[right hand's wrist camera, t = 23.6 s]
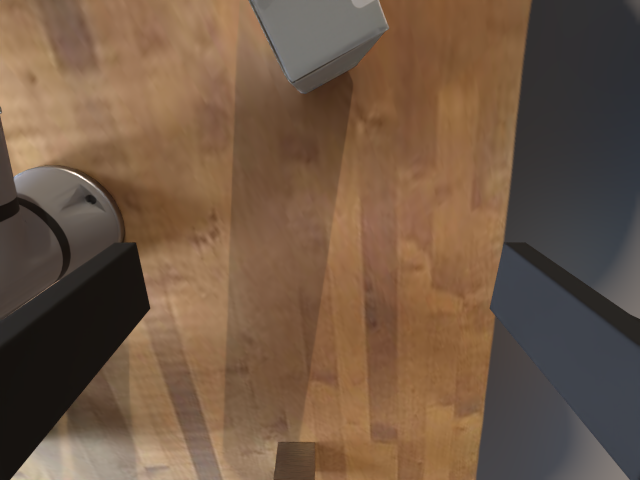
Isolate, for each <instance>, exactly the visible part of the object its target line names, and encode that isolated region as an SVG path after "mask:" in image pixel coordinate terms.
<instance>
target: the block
mask: <svg viewBox="0 0 640 480" xmlns="http://www.w3.org/2000/svg"><path fill="white" fill-rule="evenodd" d="M273 480H315V443H278V447H277V455H276V463H275V471H274V479H273Z"/></svg>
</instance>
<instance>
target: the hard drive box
mask: <svg viewBox="0 0 640 480" xmlns="http://www.w3.org/2000/svg"><path fill="white" fill-rule="evenodd" d="M249 2H250V4H251V7H252V9H253V11H254V13H255V15H256V17H257V19H258V21H259V23H260V25H261V27H262V30H263V32H264V34H265V36H266V38H267V40H268V42H269V44H270V46H271V48H272V50H273V52H274V54H275V56H276V58H277V60H278V62H279V64H280V66H281V68H282V70H283V72H284V74H285V76H286V78H287V79H288V81H289V82H290V83H291V84H292V85H293V86H294V87H295V88H296V89H297V90H298V91H299V92H300V93H304V94H306V93H308V92H310V91H312V90H314V89H316V88H318V87H319V86H321V85H323V84H325V83H327V82H328V81H330V80H332V79H334V78H336V77H337V76H339V75H341V74H343V73H345V72H346V71H348V70H350V69H352V68H353V67H355V66H356V65H357V64H358V63H359V61H360V60H361V59H362V58H363V57H364V56H365V55H366V53H367V52H368V51H369V50H370V49H371V48H372V47H373V45H374V44H375V43H376V42H377V41H378V39H379V38H380V37H381V36H382V34H383V33H384V32H385V31H386V30H388V29H389V26H388V24H387V21H386V19H385V16H384V13H383V11H382V8H381V5H380V2H379V0H249Z"/></svg>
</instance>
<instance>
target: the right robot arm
mask: <svg viewBox="0 0 640 480" xmlns="http://www.w3.org/2000/svg"><path fill="white" fill-rule="evenodd" d="M0 113H2V110H1V107H0ZM123 239H124V223H123V218H122V215H121V212H120V210H119V208H118V206H117V204H116V202H115V200H114V199H113V198H112V196H111V195H110V194H109V192H108V191H107V190H106V189H105V188H104V187H103V186H102V185H101V184H99V183H98V182H97V181H96V180H94V179H93V178H91V177H90V176H88V175H86V174H85V173H83V172H80V171H78V170H76V169H73V168H69V167H65V166H59V165H47V166H41V167H36V168H32V169H28V170H26V171H24V172H22V173H20V174H18V175H16V176H14V177H13V173H12V168H11V164H10V159H9V154H8V150H7V145H6V141H5V136H4V131H3V127H2V122H1V118H0V480H10V479H11V478H12V477H13V476H14V474H15V473H16V472H17V471H18V469H19V468H20V467H21V466H22V465H23V463H24V462H25V461H26V460H27V458H28V457H29V456H30V455H31V454H32V452H33V451H34V450H35V449H36V447H37V446H38V445H39V444H40V443H41V441H42V440H43V439H44V438H45V437H46V435H47V434H48V433H49V432H50V430H51V429H52V428H53V427H54V426H55V424H56V423H57V422H58V421H59V419H60V418H61V417H62V416H63V415H64V413H65V412H66V411H67V410H68V408H69V407H70V406H71V405H72V404H73V402H74V401H75V400H76V399H77V397H78V396H79V395H80V394H81V393H82V391H83V390H84V389H85V388H86V386H87V385H88V384H89V383H90V382H91V380H92V379H93V378H94V377H95V375H96V374H97V373H98V372H99V371H100V369H101V368H102V367H103V366H104V364H105V363H106V362H107V361H108V360H109V358H110V357H111V356H112V355H113V353H114V352H115V351H116V350H117V349H118V347H119V346H120V345H121V344H122V342H123V341H124V340H125V339H126V338H127V336H128V335H129V334H130V333H131V331H132V330H133V329H134V328H135V327H136V325H137V324H138V323H139V322H140V320H141V319H142V318H143V317H144V316H145V314H146V313H147V312H148V311H149V309H150V305H149V300H148V296H147V291H146V286H145V282H144V277H143V272H142V268H141V263H140V259H139V254H138V249H137V245H136V243H123ZM58 280H60V281H58ZM56 281H58V282H57V283H55V282H56ZM53 283H55V284H54V285H52V284H53ZM51 285H52V286H51ZM49 286H51V287H49ZM48 287H49V288H48ZM46 288H48V289H46ZM45 289H46V290H45ZM44 290H45V291H44ZM42 291H44V292H42ZM41 292H42V293H41ZM39 293H41V294H39ZM38 294H39V295H38ZM37 295H38V296H37ZM35 296H36V297H35ZM34 297H35V298H34ZM32 298H33V299H32ZM31 299H32V300H31ZM28 301H29V302H28ZM27 302H28V303H27ZM25 303H26V304H25ZM24 304H25V305H24ZM22 305H23V306H22ZM21 306H22V307H21ZM18 308H19V309H18ZM490 309H491V311H492V312H493V313H494V314H495V316H496V317H497V318H498V319H499V320H500V322H501V323H502V324H503V325H504V327H505V328H506V329H507V330H508V331H509V333H510V334H511V335H512V336H513V337H514V339H515V340H516V341H517V342H518V344H519V345H520V346H521V347H522V349H523V350H524V351H525V352H526V353H527V355H528V356H529V357H530V358H531V360H532V361H533V362H534V363H535V364H536V366H537V367H538V368H539V369H540V371H541V372H542V373H543V374H544V375H545V377H546V378H547V379H548V380H549V381H550V383H551V384H552V385H553V386H554V388H555V389H556V390H557V391H558V393H559V394H560V395H561V396H562V397H563V399H564V400H565V401H566V402H567V404H568V405H569V406H570V407H571V408H572V410H573V411H574V412H575V413H576V414H577V416H578V417H579V418H580V419H581V421H582V422H583V423H584V424H585V425H586V427H587V428H588V429H589V430H590V432H591V433H592V434H593V435H594V436H595V438H596V439H597V440H598V441H599V443H600V444H601V445H602V446H603V447H604V449H605V450H606V451H607V452H608V454H609V455H610V456H611V457H612V458H613V460H614V461H615V462H616V463H617V465H618V466H619V467H620V468H621V469H622V471H623V472H624V473H625V474H626V476H627V477H628V478H629V479H630V480H640V319H638V318H636V317H634V316H632V315H630V314H628V313H627V312H626V311H624V310H623V309H621V308H620V307H618V306H617V305H615V304H614V303H612V302H611V301H610V300H608V299H607V298H605V297H604V296H602V295H601V294H599V293H598V292H596V291H595V290H593V289H592V288H591V287H589V286H588V285H586V284H585V283H583V282H582V281H580V280H579V279H578V278H576V277H575V276H573V275H572V274H570V273H569V272H567V271H566V270H565V269H563V268H562V267H560V266H559V265H557V264H556V263H554V262H553V261H551V260H550V259H548V258H547V257H546V256H544V255H543V254H541V253H540V252H538V251H537V250H535V249H534V248H533V247H531V246H530V245H528V244H527V243H504V245H503V249H502V254H501V259H500V263H499V268H498V272H497V277H496V282H495V286H494V291H493V296H492V300H491V305H490ZM15 310H16V311H15ZM11 313H12V314H11ZM8 315H9V316H8ZM5 317H6V318H5Z"/></svg>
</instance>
